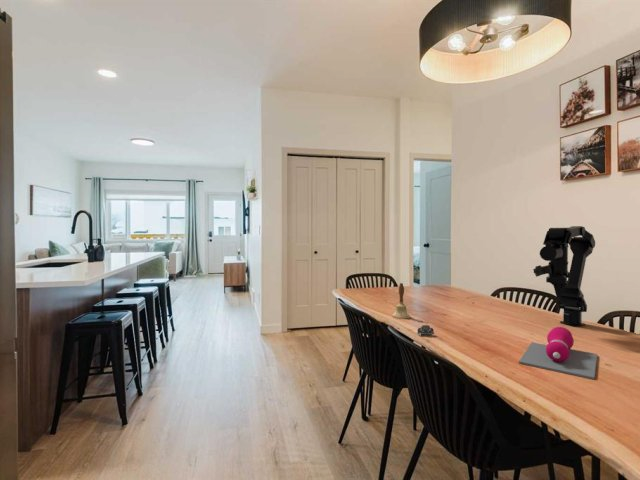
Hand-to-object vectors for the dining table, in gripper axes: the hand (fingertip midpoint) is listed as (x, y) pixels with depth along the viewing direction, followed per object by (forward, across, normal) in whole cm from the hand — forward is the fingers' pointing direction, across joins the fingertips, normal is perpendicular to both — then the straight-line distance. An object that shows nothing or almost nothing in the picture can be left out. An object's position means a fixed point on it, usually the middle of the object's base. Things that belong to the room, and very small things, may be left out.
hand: (558, 298), depth 135 cm
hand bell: (+13, +17, -60) cm, 64 cm away
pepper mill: (+9, +23, +3) cm, 24 cm away
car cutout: (+14, +35, -36) cm, 52 cm away
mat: (+13, +35, +4) cm, 37 cm away
